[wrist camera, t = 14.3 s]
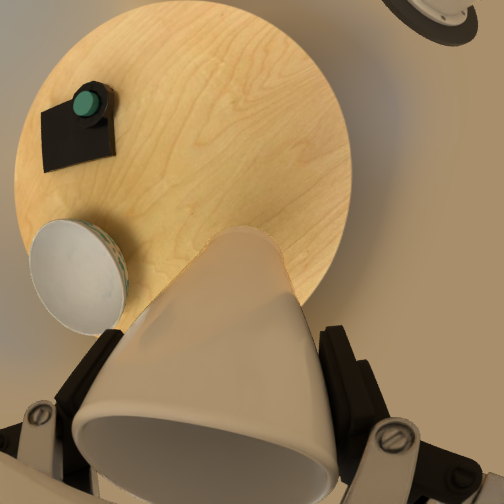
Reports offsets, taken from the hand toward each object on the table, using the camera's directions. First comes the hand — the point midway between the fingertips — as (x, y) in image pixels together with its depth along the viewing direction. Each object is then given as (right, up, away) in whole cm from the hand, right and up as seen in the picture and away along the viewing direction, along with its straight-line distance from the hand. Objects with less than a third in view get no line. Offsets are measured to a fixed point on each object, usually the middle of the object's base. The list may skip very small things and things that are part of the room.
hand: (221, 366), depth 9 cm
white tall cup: (0, +3, +10) cm, 10 cm away
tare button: (-18, +22, +17) cm, 33 cm away
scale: (-22, +20, +21) cm, 36 cm away
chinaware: (-20, +3, +27) cm, 33 cm away
